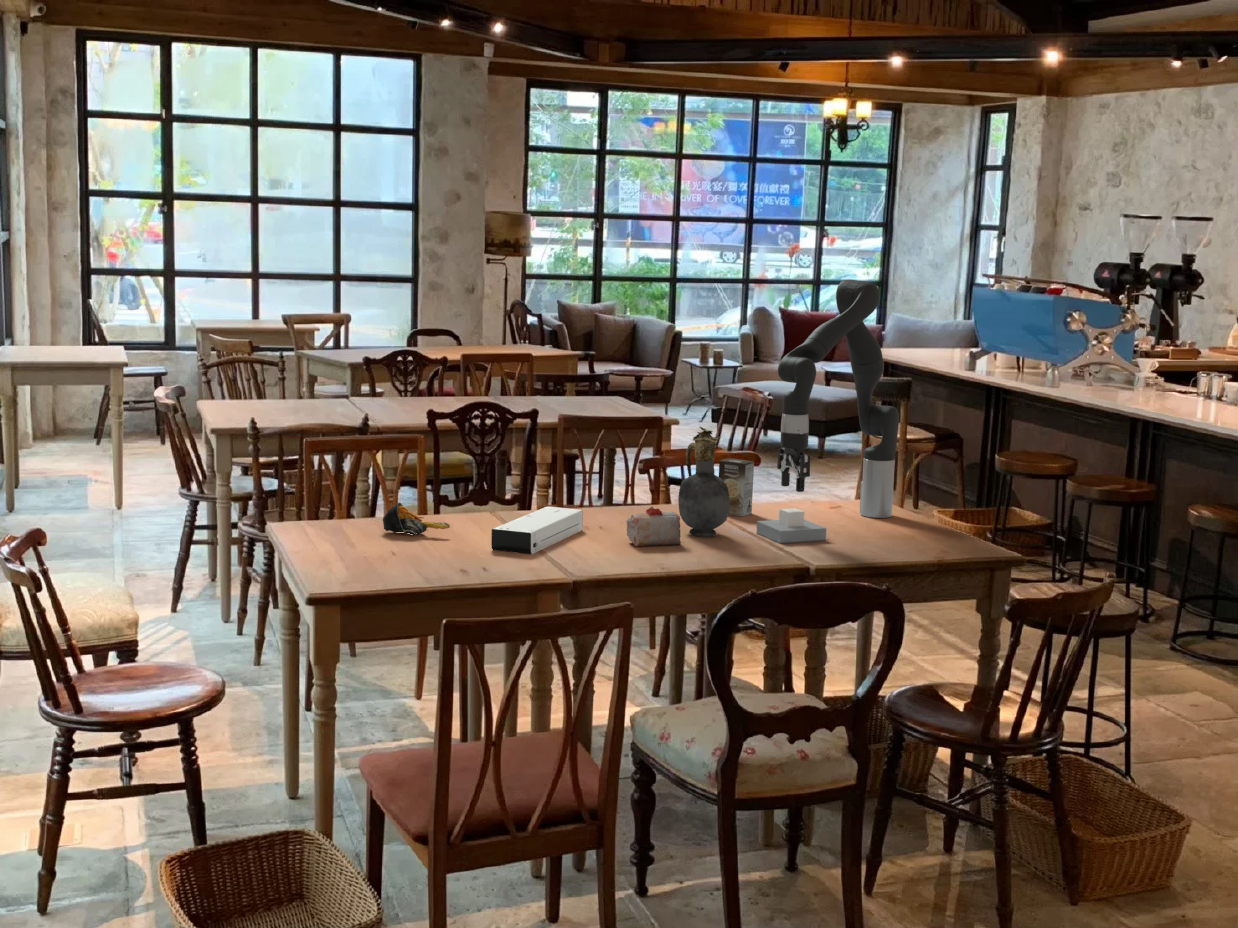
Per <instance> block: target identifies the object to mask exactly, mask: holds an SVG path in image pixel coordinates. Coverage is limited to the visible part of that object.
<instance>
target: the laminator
mask: <svg viewBox="0 0 1238 928" xmlns="http://www.w3.org/2000/svg"><path fill="white" fill-rule="evenodd" d="M583 515H584V512H583V510H582V509H577V508H568V507H567V508H566V507H559V506H558V507H557V506H545V507H543V508H540V509H537V510H535V511H532V512H530V513H528V514H525V515H523V516H521V517H518V518H516V519H513V520H510V521H508V522H506V523H503V524H501V525H499V526H496V527H494V528H492V529H491V544H490V545H491V550H492V549H493V550H492V551H497V550H499V552H505V553H506V552H507V553H508V552H509V553H515V552H517V553H518V554H525V555H534V554H535V553H537V552H540V551H541V550H544V549H546V548H549V547H550V546H552V545H554V544H557V543H559V542H561V541H562V540H565V539H568V538H569V537H571V536H574V535H576V534H577V533H579V532H582V530H583V526H584V525H583V522H584V521H583V520H584V517H583ZM517 553H516V554H517Z"/></svg>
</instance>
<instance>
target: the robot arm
mask: <svg viewBox="0 0 1238 928" xmlns="http://www.w3.org/2000/svg"><path fill="white" fill-rule="evenodd" d="M836 287H837V288H836V292H835V302H836V306H837V310H838V315H837V316H835V317H834V318H831V319H829V320H828V321H825V322H824V323H822V324H820V325H819V326H818V327H817V328H815V329H814V330H813V331H812V332H811V333H810V335H808V337H807V338H806V339H805V340H804V342H803V343H800V345H798V346H797V347H795V348H794V349H792V350H791V351H790V352H788V353H787V354H786V355H784V356H783V357H782V358H781V360H780V362H779V364H778V367H777V375H778V377H779V379H781V380H782V381H783V382H785V383H791V384H792V383H793V384H795V386H794V389H793V390H792V391H787V392H785V393H784V394H783V395H782V413H781V414H782V415H781V422H780V443H779V444H780V447H778V449H777V463H776V464H777V466H776V468H777V470H779V471H780V473H781V476H780V477H781V482H780V483H781V484H780V485H781V487H789V486H790V481H791V479H790V476H791V473H790V472H791V470H793V472H795V476H796V478H795V481H796V482H795V491H796V492H797V493H802V492H805V486H806V485H805V482H806V481H805V480H806V478H808V477H810V475H811V455H810V454H805V453H804V450H805V449H808V447H809V434H810V432H809V431H810V429H809V428H810V420H809V410H810V409H809V404H810V397H811V393H812V391H813V388H814V385H815V381H816V376H817V367H816V364H818V363H820V362H822V361H823V360H824V358H826V357H827V356H828V354H829V353H830V352H831V350H832V349H834V347H835V346H836V345H838V343H839V342H840V341H841V339H843V338H844V337H845V339H846V344H847V349H848V354H849V361H850V367H851V372H852V377H853V381H854V386H855V392H856V398H857V401H856V402H857V411H858V422H859V427H860V430H861V432H862V433H863V434H864V435H868V436H873V437H881V440H880V442H879V443H878V444H876V445H872V446H870V447H866V448H865V449H864V450H863V459H862V461H863V462H862V481H861V482H860V494H859V495H860V496H859V497H860V499H859V500H860V501H859V513H860V515H861V516H863V517H868V518H875V519H876V518H878V519H881V518H882V519H883V518H884V519H885V518H891V517H892V516H893V504H894V503H893V500H894V499H893V498H894V483H895V465H896V464H895V463H896V460H895V458H896V451H897V447H898V446H897V443H898V432H899V427H900V426H899V425H900V415H899V411H898V409H897V408H896V406H892V405H881V404H875V403H874V401H873V392H874V390H875V388H876V386H877V384H878V383H879V381H880V379H881V378H882V375H883V373H884V370H885V365H884V363H885V362H884V357H883V354H882V353H883V351H882V348H881V346H880V344H879V342H878V341H877V339H876V338H875V335H873V334H872V332H871V331H870V329H869V328H868V327H867V325H866V324H865V322H864V320H866V319H867V318H868V317H870V315H871V314H872V313H874V312H875V310H876V309H877V307H878V306H879V303H880V300H881V292H880V289H879V287H878V286H877V285H876V284H875V283H871V282H867V281H862V280H855V279H844V280H842V281H840V282H839V284H838V285H837V286H836Z"/></svg>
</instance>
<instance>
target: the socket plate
mask: <svg viewBox="0 0 1238 928" xmlns="http://www.w3.org/2000/svg"><path fill="white" fill-rule="evenodd" d="M756 534H757V535H758V536H761V537H764V538H765V539H768V540H771V541H772V542H775V543H777V544H780V545H786V544H797V543H813V542H826V540H827V527H826V526H825V527H824V526H821V525H820V524H816V523H814V522H811V521H809V520H807V519H804V526H794V527H787V526H784V525H782V524H779V519H770V520H757V521H756Z"/></svg>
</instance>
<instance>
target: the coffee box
mask: <svg viewBox="0 0 1238 928" xmlns="http://www.w3.org/2000/svg"><path fill="white" fill-rule="evenodd" d="M718 463H719V464H718V477H720V478H721V479H722V480H723V481H724V482H725V484H726V485H727V487H728V492H729V500H730V506H729V513H728V516H730V515H732V516H738V517H745V516H749V515H751V514H752V511H753V495H754V494H753V493H754V491H753V490H754V473H755V472H754V471H755V461H753V460H746V459H740V458H739V459H738V458H731V457H728V458H725V459H720V460H719V461H718Z"/></svg>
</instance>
